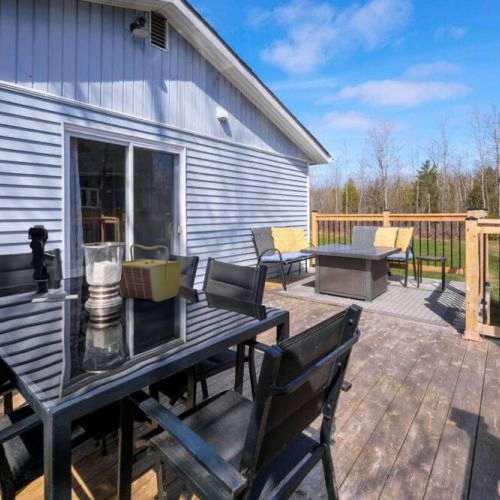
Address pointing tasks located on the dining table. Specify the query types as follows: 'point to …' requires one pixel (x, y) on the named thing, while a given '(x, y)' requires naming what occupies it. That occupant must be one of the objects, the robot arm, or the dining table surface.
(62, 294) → the donut
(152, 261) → the picnic basket
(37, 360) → the dining table surface
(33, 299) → the placemat
